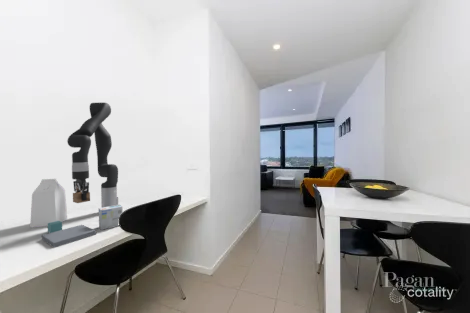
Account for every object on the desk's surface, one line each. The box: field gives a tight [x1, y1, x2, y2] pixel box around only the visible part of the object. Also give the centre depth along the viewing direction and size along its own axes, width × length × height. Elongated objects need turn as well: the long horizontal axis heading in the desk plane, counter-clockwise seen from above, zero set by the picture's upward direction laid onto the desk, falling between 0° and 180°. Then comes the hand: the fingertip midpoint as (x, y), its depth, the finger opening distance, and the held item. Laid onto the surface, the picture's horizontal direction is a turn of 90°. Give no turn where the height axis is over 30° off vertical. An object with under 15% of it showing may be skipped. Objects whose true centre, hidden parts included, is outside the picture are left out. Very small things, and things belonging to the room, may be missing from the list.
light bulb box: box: [98, 204, 124, 231], centre depth 110 cm, size 11×7×11 cm, turn 135°
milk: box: [29, 178, 68, 228], centre depth 116 cm, size 12×12×26 cm
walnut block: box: [72, 191, 91, 204], centre depth 112 cm, size 6×6×5 cm
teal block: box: [47, 221, 63, 233], centre depth 103 cm, size 4×4×4 cm
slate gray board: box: [41, 224, 97, 248], centre depth 96 cm, size 16×16×2 cm
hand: (81, 199), depth 112 cm, fingers closed on walnut block, 6 cm apart
